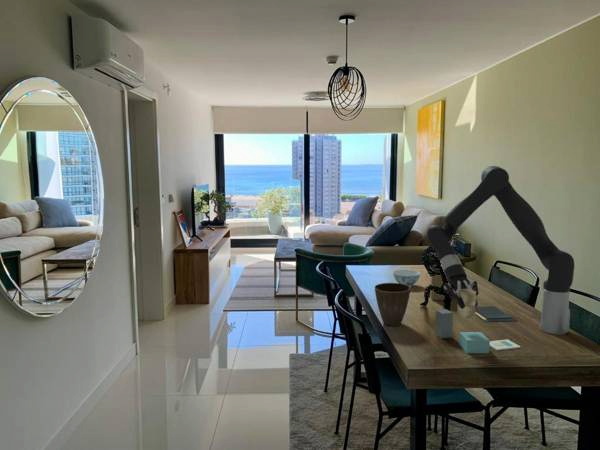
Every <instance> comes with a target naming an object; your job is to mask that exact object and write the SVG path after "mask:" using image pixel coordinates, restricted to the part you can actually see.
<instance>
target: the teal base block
mask: <svg viewBox="0 0 600 450" xmlns="http://www.w3.org/2000/svg"><path fill="white" fill-rule="evenodd" d="M483 333H484V332H483ZM483 333H482V331H469V332H468V331H466V332H465V331H460V332H459V341H458V344H459V346H460V347H461V348H462V349H463V351H464V352H465V353H466V354H490V341H491V340H490V339H489V338H488V337H487V336H486V335H485V334H483Z"/></svg>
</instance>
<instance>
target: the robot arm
mask: <svg viewBox="0 0 600 450" xmlns="http://www.w3.org/2000/svg"><path fill="white" fill-rule="evenodd" d="M480 178H481V182H480V183H479V185H477V187H476V188H475V189H474V190H473V191H472V192H471V193H470V194H469V195H468V196H466V197H464V198H463V199H462V200H460V202H458V203H457V204H456V205H455V206H454V207H453V208H452V209H450V211H449V212H448V213H447V214H446V215H445V216H444V218H443V221H444V224H443V226H440V225H438V224H432V225H431V226H429V227H428V229H427V231H426V237H427V241H429V244H430V245H431V247H432V248H433V250H434V251H435V252H436V254H437V258H439V260H440V263H441V267H442V269H443V272H444V274H445V276H446V279H447V281H448V283H445V285H444V286H443V289H444V290H445V291H446V293H447V294H448V295H449V297H450V298H451V299H452V300H455V301H456V302H457V306H458V305H459V307H461V309H464V307H465V304H464V302H463V299H462V298H461V294H460V290H461V289H471V290H473V291H476V297H477V296H478V295H479V293H480V292H479V288H478V286H479V285H478V282H477V281H474V280H473V281H470V280H469V279H468V277H467V273H466V271H465V268H464V267H463V263H462V262H461V260H460V258H459V257H458V254H457V252H456V250H455V248H454V247H453V245H452V244H451V243H450V241H451V240H452V239H453V237H454V236H455V234H456V233H457V231H458V229H459V227H461V226H462V225H463V224H464V222H466V221H467V220H468V219H469V218H470V217H471V216H472V215H473V214H474V213H475V212H476V211H477V210H478V209H479V208H480V207H481V206H482V205H483V204H484V203H485V202H487V201H488V200H489V199H490V198H492V197H493V196H494V197H495V198H496V200H498V202H499V204H500V205H501V207H502V208H503V210H504V212H505V214H506V215H507V217H508V218H509V220H510V222H511V223H512V224H513V225H514V227H515V228H516V230H517V231H518V232H519V234H521V236H522V237H523V238H524V239H525V241H526V242H527V243H528V244H529V245H530V246H531V247H532V249H533V250H534V252H535V254H536V255H537V257H538V259H539V260H540V262H541V264H542V265H543V267H544V268H545V269H546V270H547V271H548V274H547V279H546V280H544V282H543V284H542V286H543V287H542V298H541V299H542V300H541V303H542V304H541V316H540V317H541V319H540V330H541V331H543V332H545V333H546V334H547V333H548V334H551V335H557V336H558V335H566V334H567V333H569V332H570V321H571V320H570V319H571V309H570V307H569V305H570V291H571V287H572V284H573V282H574V273H575V260H574V257H573V256H572V255H571V254H570V253H568V252H566V251H564V250H561V249H559V248H558V246H556V244H555V243H554V242H553V241H552V240H551V239H550V238H549V236H548V234H547V231H546V229H545V225H544V223H543V221H542V219H541V217H540V216H539V214H538V213H537V212H536V211H535V209H534V208H533V207H532V206H531V205H530V204H529V203H528V202H527V201H526V200H525V198H523V197H522V195H520V194H519V193H518V192H517V191H516V190H515V188H514V187H513V185H512V184H511V182H510V175H509V172H508V171H507V170H506V169H504V168H502V167H500V166H497V165H491V166H488V167H486V168H484V170H482V172H481V177H480ZM451 288H452V289H451ZM478 303H479V302H478V301H477V299H476V304H475V308H476V307H478Z"/></svg>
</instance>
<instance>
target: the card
mask: <svg viewBox="0 0 600 450" xmlns="http://www.w3.org/2000/svg"><path fill="white" fill-rule="evenodd" d="M489 348H492V349H493V350H495V351H503V350H513V349H521V346H520V345H518V344H516V343H515V342H513V341H511V340H509V339H499V340H492V341H491V340H490V346H489Z"/></svg>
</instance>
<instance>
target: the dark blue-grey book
mask: <svg viewBox="0 0 600 450" xmlns="http://www.w3.org/2000/svg"><path fill="white" fill-rule="evenodd" d="M475 317H477V318H478V319H480V320H481V321H482V322H484V323H510V322H511V323H514V322H518V320H517V319H515V318H514V317H513V316H511V315H509V314H508V313H506V312H504V311H502V310H501V309H500V308H498V307H496V306H494V305H490V306H477V307H476V308H475Z"/></svg>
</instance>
